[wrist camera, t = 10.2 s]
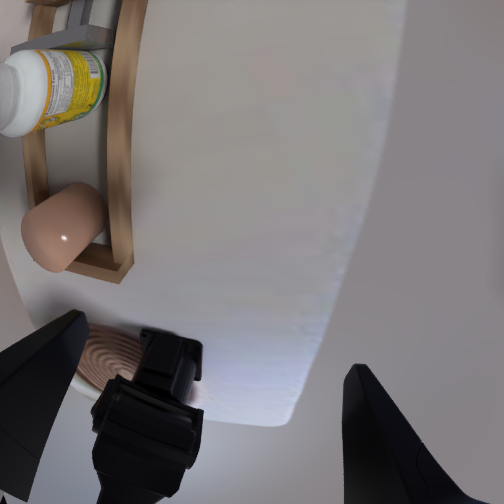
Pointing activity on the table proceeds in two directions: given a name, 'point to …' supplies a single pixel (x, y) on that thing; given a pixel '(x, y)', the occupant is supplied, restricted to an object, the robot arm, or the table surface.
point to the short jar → (63, 226)
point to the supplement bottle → (48, 89)
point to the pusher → (74, 33)
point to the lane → (118, 143)
